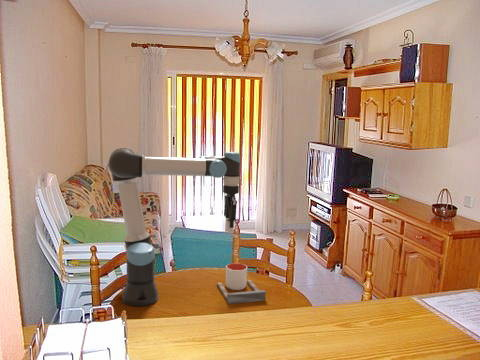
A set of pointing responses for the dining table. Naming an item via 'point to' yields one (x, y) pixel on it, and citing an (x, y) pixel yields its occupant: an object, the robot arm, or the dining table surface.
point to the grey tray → (243, 294)
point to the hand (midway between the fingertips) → (229, 232)
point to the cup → (236, 276)
